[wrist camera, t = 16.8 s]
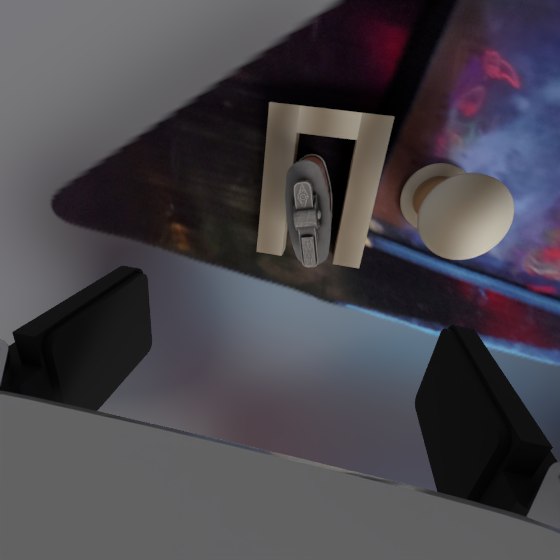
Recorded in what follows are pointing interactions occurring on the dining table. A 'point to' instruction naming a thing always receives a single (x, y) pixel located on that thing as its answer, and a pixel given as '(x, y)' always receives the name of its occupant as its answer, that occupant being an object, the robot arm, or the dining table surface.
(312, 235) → the lighter
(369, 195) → the notched board
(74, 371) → the robot arm
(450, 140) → the dining table surface
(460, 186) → the bobbin
